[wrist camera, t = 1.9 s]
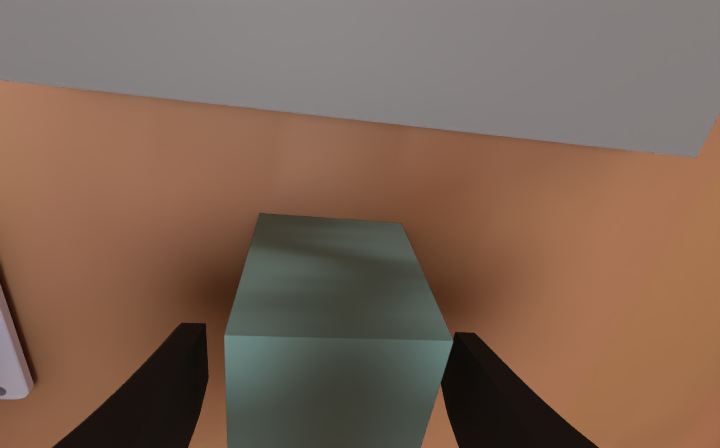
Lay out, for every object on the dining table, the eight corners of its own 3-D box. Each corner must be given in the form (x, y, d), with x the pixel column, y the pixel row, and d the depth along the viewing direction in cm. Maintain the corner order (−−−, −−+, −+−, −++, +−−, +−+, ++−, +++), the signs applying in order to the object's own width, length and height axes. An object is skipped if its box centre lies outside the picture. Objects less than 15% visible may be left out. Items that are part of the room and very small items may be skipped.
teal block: (257, 325, 16) (228, 480, 10) (259, 212, 13) (223, 335, 8) (380, 329, 16) (412, 475, 11) (400, 222, 14) (453, 341, 9)
